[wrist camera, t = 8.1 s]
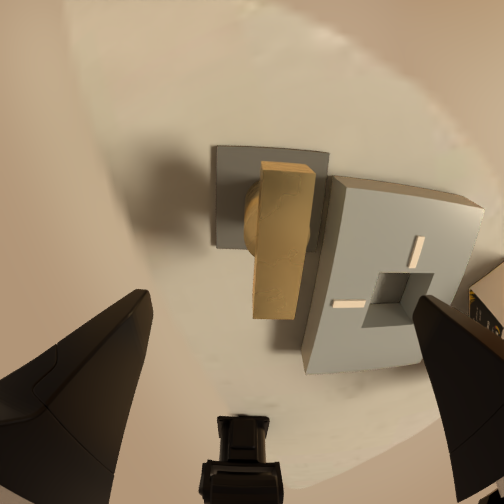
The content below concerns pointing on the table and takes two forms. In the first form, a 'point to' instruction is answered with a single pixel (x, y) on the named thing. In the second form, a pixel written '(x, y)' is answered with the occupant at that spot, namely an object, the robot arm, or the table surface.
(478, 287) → the medicine bottle
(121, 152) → the table surface
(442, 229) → the grey socket block
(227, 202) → the pad
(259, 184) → the t key
